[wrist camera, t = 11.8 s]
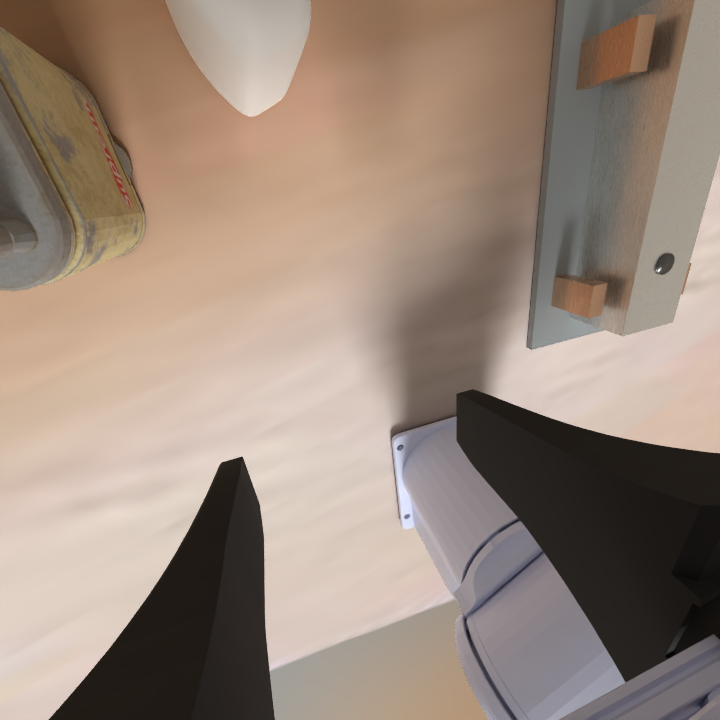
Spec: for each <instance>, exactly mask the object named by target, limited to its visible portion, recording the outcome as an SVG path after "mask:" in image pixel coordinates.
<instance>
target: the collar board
mask: <svg viewBox="0 0 720 720" xmlns="http://www.w3.org/2000/svg"><path fill="white" fill-rule="evenodd" d="M651 1H653V0H558V2H557V13H556V24H555V35H554V46H553V58H552V69H551V80H550V91H549V102H548V114H547V125H546V136H545V147H544V159H543V170H542V181H541V192H540V203H539V215H538V226H537V237H536V248H535V260H534V271H533V282H532V293H531V304H530V316H529V327H528V338H527V348H529V349H531V350H532V349H536V348H540V347H544V346H547V345H551V344H555V343H558V342H562V341H566V340H570V339H573V338H577V337H581V336H584V335H588V334H592V333H596V332H599V331H603V329H601V328H598V327H595V326H592V325H589V324H587V323H584V322H581V321H578V320H575V319H573V318H570V312H571V313H574V314H577V315H580V316H583V317H586V318H592V317H596V316H600V315H602V311H603V305H604V300H605V295H606V289H607V284H608V283H606V282H601V281H597V280H593V279H588V278H584V277H579V276H575V275H576V268H577V261H578V254H579V247H580V240H581V233H582V225H583V218H584V211H585V204H586V197H587V190H588V183H589V176H590V169H591V162H592V155H593V148H594V141H595V133H596V126H597V119H598V112H599V105H600V98H601V91H602V85H605V84H608V83H611V82H614V81H617V80H620V79H623V78H626V77H629V76H632V75H635V74H639V73H642V72H645V71H647V66H648V60H649V55H650V49H651V44H652V38H653V33H654V27H655V22H656V16H657V14H652V15H638V16H636V17H634V18H632V19H630V20H627V21H625V22H623V23H621V24H619V25H617V26H615V27H613V28H610V27H611V21H612V20H614V19H616V18H618V17H620V16H622V15H624V14H627V13H629V12H631V11H633V10H635V9H637V8H639V7H641V6H643V5H645V4H647V3H649V2H651ZM690 266H691V263H689V266H688V270H687V273H686V277H685V281H684V284H683V288H682V291H681V294H683V291H684V288H685V284H686V281H687V277H688V273H689V270H690Z"/></svg>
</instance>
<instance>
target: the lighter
mask: <svg viewBox="0 0 720 720" xmlns="http://www.w3.org/2000/svg"><path fill="white" fill-rule="evenodd" d="M131 174H132V164H131V160H130V158H129V157H128V155H127V153H126V152H125V151H124V150H123V149H122V148H121V147H120V146H118V145H117V144H115V143H114V141H113V139H112V137H111V134H110V132H109V130H108V127H107V125H106V123H105V121H104V118H103V116H102V114H101V111H100V109H99V107H98V104H97V102H96V100H95V99H94V97H93V96H92V95H91V93H90V92H89V91H88V90H87V89H86V87H85V86H84V85H83V84H82V83H81V82H80V81H78V80H77V79H76V78H75V77H73V76H72V75H71V74H69V73H68V72H66V71H65V70H63V69H61V68H60V67H58V66H56V65H53V64H52V63H51V62H49V61H48V60H46V59H45V58H44V57H42V56H41V55H40V54H38V53H37V52H35V51H34V50H33V49H31V48H30V47H28V46H27V45H26V44H24V43H23V42H21V41H20V40H19V39H17V38H16V37H15V36H13V35H12V34H10V33H9V32H8V31H6V30H5V29H3V28H2V27H1V26H0V290H4V291H19V290H27V289H30V288H33V287H36V286H39V285H45V284H50V283H53V282H56V281H59V280H61V279H64V278H66V277H68V276H71V275H73V274H75V273H78V272H80V271H82V270H85V269H87V268H89V267H92V266H94V265H96V264H99V263H101V262H103V261H106V260H108V259H110V258H113V257H118V256H121V255H124V254H127V253H129V252H130V251H132V250H134V249H135V248H136V247H137V246H138V245H139V243H140V242H141V240H142V238H143V236H144V233H145V227H146V219H145V213H144V211H143V208H142V206H141V204H140V202H139V199H138V197H137V195H136V192H135V190H134V188H133V185H132V183H131V181H130V178H131Z"/></svg>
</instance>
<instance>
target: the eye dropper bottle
mask: <svg viewBox="0 0 720 720" xmlns="http://www.w3.org/2000/svg"><path fill="white" fill-rule="evenodd" d="M165 2H166V5H167V7H168V10H169V12H170V15H171V17H172V20H173V22H174V24H175V27H176V29H177V31H178V33H179V35H180V37H181V39H182V41H183V43H184V45H185V46H186V48H187V50H188V52H189V53H190V55H191V57H192V58H193V60H194V61H195V63H196V65H197V66H198V67H199V69H200V70H201V72H202V73H203V74H204V76H205V77H206V78H207V80H208V81H209V82H210V83H211V84H212V86H213V87H214V88H215V89H216V90H217V91H218V92H219V93H220V94H221V96H222V97H223V98H225V99H226V100H227V101H228V102H229V103H230V104H231V105H232V106H233V107H234V108H235V109H237V110H238V111H239V112H241V113H242V114H244V115H246V116H249V117H252V116H257V115H259V114H260V113H262V112H264V111H265V110H267V109H268V108H270V107H272V106H273V105H275V104H276V103H278V102H279V101H280V100H282V98H283V97H284V96H285V95H286V93H287V90H288V88H289V85H290V83H291V80H292V78H293V75H294V73H295V70H296V67H297V65H298V62H299V60H300V57H301V54H302V52H303V49H304V46H305V43H306V40H307V37H308V33H309V27H310V21H311V0H165Z"/></svg>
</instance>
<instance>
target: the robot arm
mask: <svg viewBox="0 0 720 720" xmlns="http://www.w3.org/2000/svg"><path fill="white" fill-rule="evenodd" d="M399 445H401V446H400V447H398V446H399ZM392 450H393V459H394V468H395V478H396V487H397V496H398V505H399V514H400V523H401V526H402V528H403V529H410V528H412V527H415V528H416V530H417V532H418V534H419V536H420V537H421V539H422V541H423V543H424V545H425V547H426V549H427V551H428V553H429V555H430V556H431V558H432V560H433V562H434V564H435V566H436V568H437V570H438V572H439V574H440V575H441V577H442V579H443V581H444V583H445V585H446V587H447V589H448V590H449V592H450V593H451V595H452V596H453V597H454V598H455V599H456V601H457V603H458V604H459V606H460V608H461V610H462V612H463V613H462V614H461V616H459V617H458V618H457V620H456V622H455V633H456V648H457V653H458V657H459V660H460V663H461V666H462V669H463V671H464V674H465V676H466V678H467V681H468V683H469V685H470V687H471V689H472V691H473V693H474V695H475V697H476V699H477V700H478V702H479V704H480V706H481V708H482V709H483V711H484V713H485V714H486V716H487V718H488V719H489V720H720V453H709V452H701V451H693V450H686V449H679V448H672V447H666V446H660V445H654V444H648V443H643V442H638V441H633V440H628V439H623V438H619V437H614V436H610V435H606V434H602V433H598V432H595V431H591V430H587V429H583V428H580V427H576V426H573V425H570V424H567V423H564V422H560V421H557V420H554V419H551V418H548V417H546V416H543V415H540V414H537V413H534V412H532V411H529V410H526V409H524V408H521V407H518V406H516V405H513V404H511V403H508V402H506V401H503V400H500V399H498V398H495V397H493V396H490V395H487V394H485V393H482V392H479V391H476V390H473V389H472V390H468V391H465V392H462V393H458V394H457V416H455V417H452V418H448V419H445V420H442V421H438V422H435V423H432V424H428V425H425V426H422V427H418V428H415V429H412V430H408V431H405V432H402V433H398V434H396V435H394V436H393V438H392ZM49 720H275V718H274V709H273V701H272V691H271V682H270V673H269V663H268V653H267V643H266V631H265V594H264V535H263V526H262V519H261V511H260V504H259V501H258V499H257V496H256V493H255V490H254V487H253V485H252V482H251V479H250V476H249V473H248V470H247V468H246V465H245V462H244V459H243V457H239V458H236V459H232V460H229V461H226V462H222V463H221V464H220V466H219V468H218V470H217V472H216V475H215V477H214V479H213V482H212V484H211V486H210V488H209V491H208V493H207V495H206V497H205V499H204V501H203V503H202V505H201V507H200V509H199V511H198V513H197V515H196V517H195V519H194V521H193V523H192V525H191V527H190V529H189V531H188V532H187V534H186V536H185V538H184V539H183V541H182V543H181V545H180V546H179V548H178V550H177V552H176V553H175V555H174V557H173V559H172V560H171V562H170V563H169V565H168V567H167V568H166V570H165V571H164V573H163V575H162V576H161V578H160V579H159V581H158V582H157V584H156V585H155V587H154V588H153V590H152V591H151V593H150V594H149V596H148V597H147V599H146V600H145V601H144V603H143V604H142V606H141V607H140V608H139V610H138V611H137V612H136V614H135V615H134V617H133V618H132V619H131V621H130V622H129V623H128V625H127V626H126V627H125V629H124V630H123V631H122V633H121V634H120V635H119V637H118V638H117V639H116V641H115V642H114V643H113V645H112V646H111V647H110V648H109V650H108V651H107V652H106V653H105V655H104V656H103V657H102V658H101V659H100V661H99V662H98V663H97V664H96V665H95V667H94V668H93V669H92V670H91V672H90V673H89V674H88V675H87V676H86V678H85V679H84V680H83V681H82V682H81V683H80V685H79V686H78V687H77V688H76V689H75V690H74V692H73V693H72V694H71V695H70V696H69V697H68V699H67V700H66V701H65V702H64V703H63V704H62V705H61V706H60V708H59V709H58V710H57V711H56V712H55V713H54V714H53V716H52V717H51V718H50V719H49Z"/></svg>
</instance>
